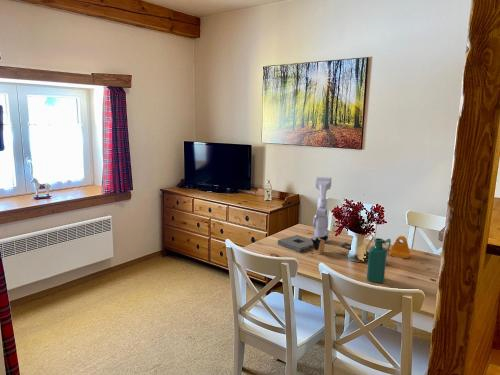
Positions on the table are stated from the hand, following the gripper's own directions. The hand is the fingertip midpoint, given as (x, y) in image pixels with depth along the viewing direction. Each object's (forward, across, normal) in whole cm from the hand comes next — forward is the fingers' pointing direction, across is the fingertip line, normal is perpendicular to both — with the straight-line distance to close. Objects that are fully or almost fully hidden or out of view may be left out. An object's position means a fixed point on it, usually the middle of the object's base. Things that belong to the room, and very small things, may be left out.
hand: (319, 248), depth 234 cm
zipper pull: (+3, -9, +24) cm, 25 cm away
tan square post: (+2, 0, 0) cm, 2 cm away
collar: (+2, -1, -16) cm, 16 cm away
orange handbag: (+3, -30, +38) cm, 49 cm away
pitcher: (+3, +14, +43) cm, 45 cm away
